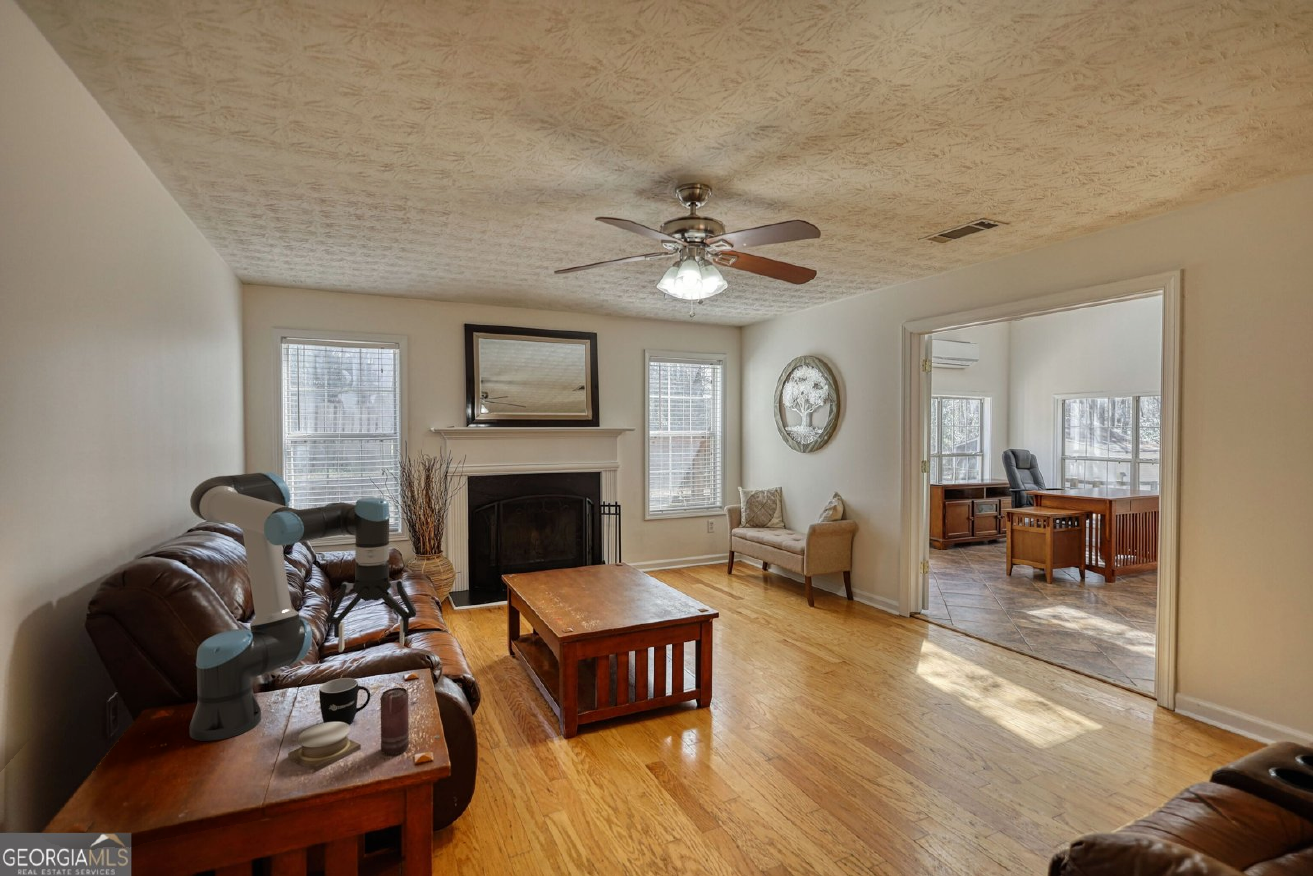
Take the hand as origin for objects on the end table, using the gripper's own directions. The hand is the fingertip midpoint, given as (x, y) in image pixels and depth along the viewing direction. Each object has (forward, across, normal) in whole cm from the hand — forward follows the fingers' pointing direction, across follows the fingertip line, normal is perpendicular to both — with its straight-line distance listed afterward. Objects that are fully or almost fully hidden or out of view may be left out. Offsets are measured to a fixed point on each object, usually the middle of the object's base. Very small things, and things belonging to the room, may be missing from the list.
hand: (372, 647), depth 153 cm
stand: (+23, -10, -4) cm, 25 cm away
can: (+23, +6, -7) cm, 25 cm away
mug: (+24, -8, +11) cm, 27 cm away
